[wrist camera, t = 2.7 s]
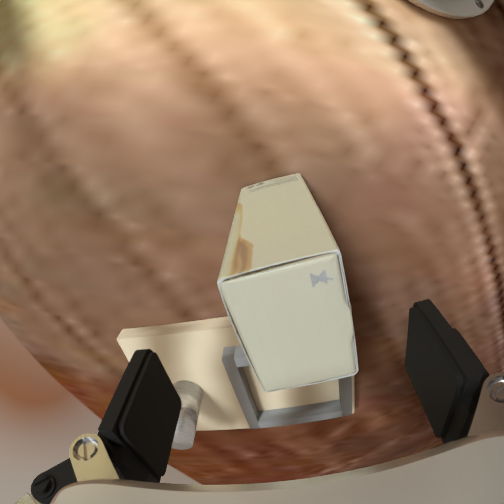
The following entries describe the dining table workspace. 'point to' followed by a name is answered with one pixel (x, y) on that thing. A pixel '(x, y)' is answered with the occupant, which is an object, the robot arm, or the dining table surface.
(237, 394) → the board
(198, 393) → the steel pin
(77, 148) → the dining table surface
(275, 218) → the skincare box
